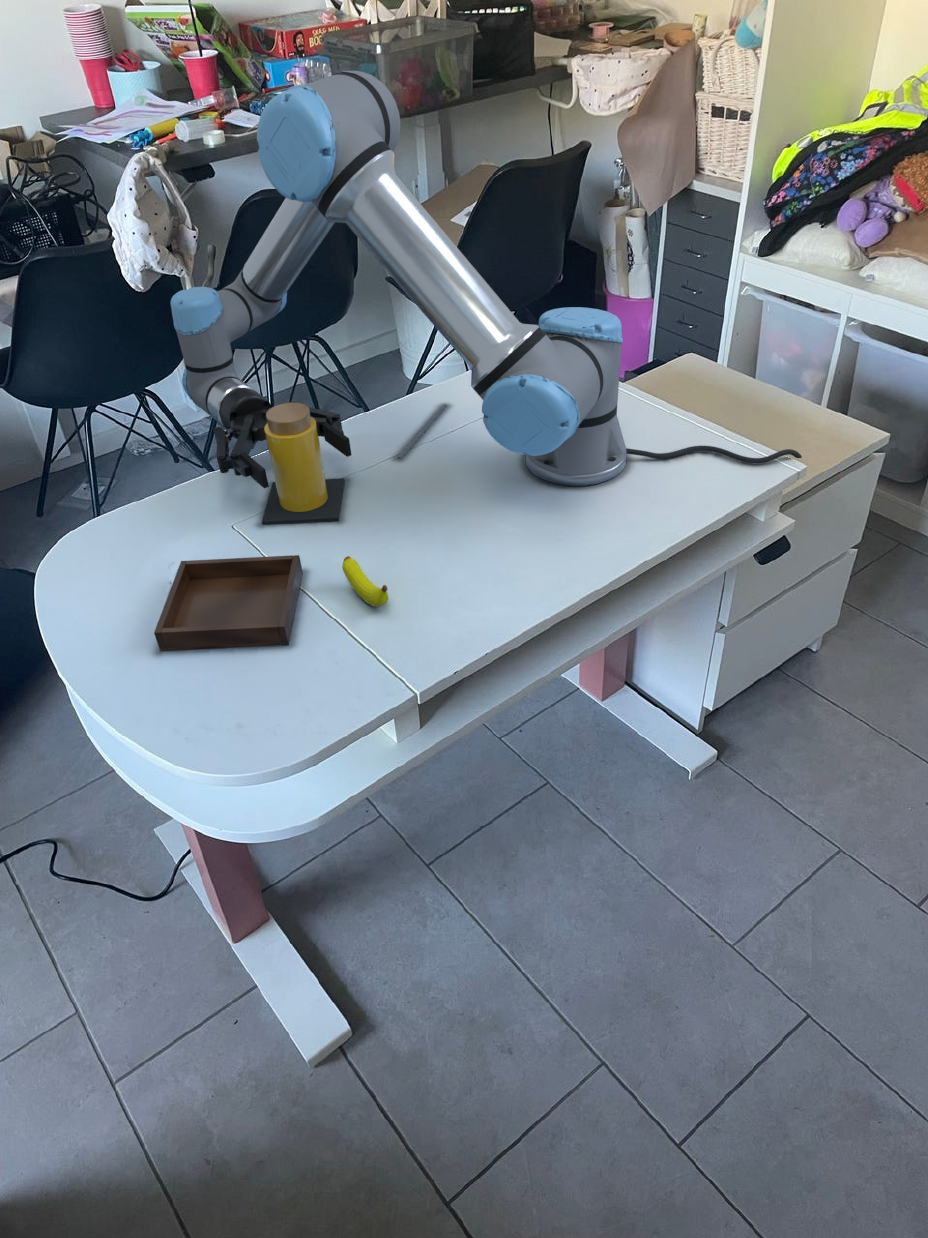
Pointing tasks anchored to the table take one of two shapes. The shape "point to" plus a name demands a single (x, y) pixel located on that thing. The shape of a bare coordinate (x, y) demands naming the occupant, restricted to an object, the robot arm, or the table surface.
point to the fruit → (364, 584)
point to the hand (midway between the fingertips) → (307, 463)
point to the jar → (296, 457)
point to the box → (231, 603)
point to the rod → (422, 432)
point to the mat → (321, 514)
